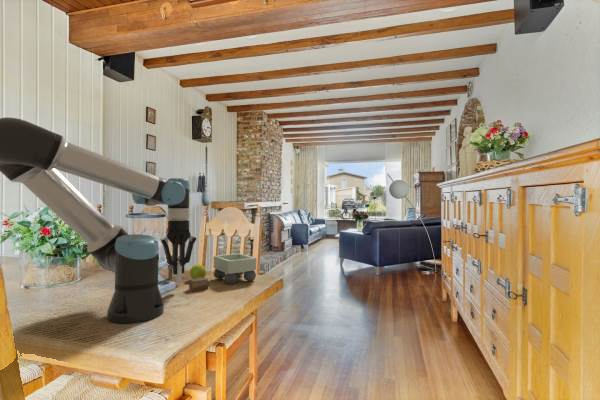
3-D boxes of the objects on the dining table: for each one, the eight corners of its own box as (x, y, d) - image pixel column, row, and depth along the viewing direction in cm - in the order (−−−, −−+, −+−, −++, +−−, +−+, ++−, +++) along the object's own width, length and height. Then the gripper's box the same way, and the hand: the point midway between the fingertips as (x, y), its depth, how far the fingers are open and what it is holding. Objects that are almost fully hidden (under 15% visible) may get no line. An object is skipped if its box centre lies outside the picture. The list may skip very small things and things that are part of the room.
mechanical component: (180, 279, 139) (180, 256, 139) (157, 279, 139) (157, 256, 139) (183, 278, 142) (183, 255, 142) (160, 277, 142) (160, 255, 142)
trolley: (256, 281, 138) (257, 258, 138) (227, 285, 130) (227, 261, 130) (240, 274, 150) (241, 253, 150) (212, 278, 142) (212, 256, 142)
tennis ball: (204, 277, 143) (204, 262, 144) (207, 280, 138) (207, 265, 138) (188, 279, 140) (188, 263, 140) (191, 282, 134) (191, 266, 134)
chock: (207, 289, 125) (208, 279, 125) (192, 292, 121) (192, 281, 121) (203, 287, 128) (204, 277, 128) (189, 289, 124) (189, 279, 124)
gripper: (192, 218, 127) (192, 278, 127) (157, 219, 119) (157, 283, 119) (199, 219, 121) (199, 281, 121) (163, 220, 113) (163, 287, 113)
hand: (178, 282), depth 120 cm, fingers closed
